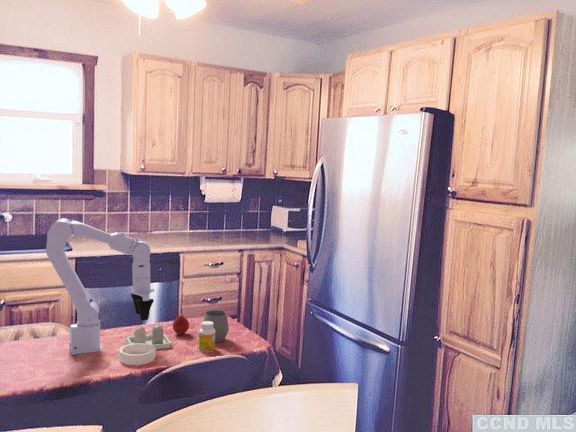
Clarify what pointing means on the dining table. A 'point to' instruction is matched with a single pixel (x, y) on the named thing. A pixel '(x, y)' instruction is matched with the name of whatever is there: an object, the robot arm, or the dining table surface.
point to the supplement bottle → (207, 337)
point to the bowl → (137, 354)
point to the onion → (180, 325)
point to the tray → (149, 341)
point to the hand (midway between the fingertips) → (142, 316)
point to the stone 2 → (157, 335)
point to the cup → (218, 323)
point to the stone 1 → (140, 335)
